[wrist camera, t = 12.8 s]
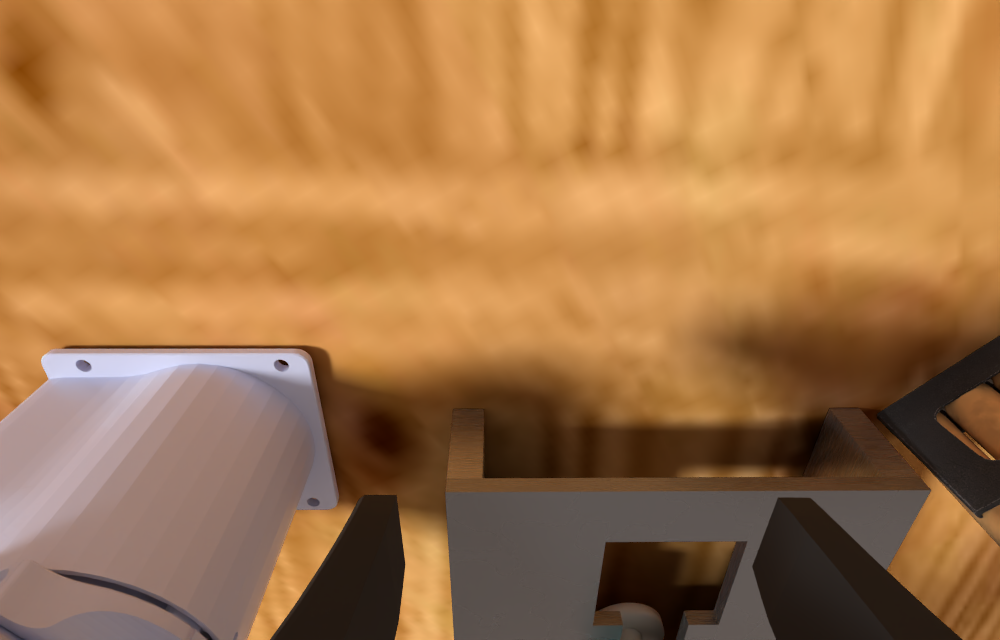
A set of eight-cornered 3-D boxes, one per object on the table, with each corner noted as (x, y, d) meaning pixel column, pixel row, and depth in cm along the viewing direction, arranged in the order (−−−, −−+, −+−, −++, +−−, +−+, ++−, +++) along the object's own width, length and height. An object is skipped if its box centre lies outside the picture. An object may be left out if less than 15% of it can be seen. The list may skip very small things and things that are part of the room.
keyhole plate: (466, 700, 33) (463, 788, 30) (452, 409, 22) (445, 492, 18) (736, 698, 33) (766, 784, 30) (859, 408, 22) (931, 490, 19)
